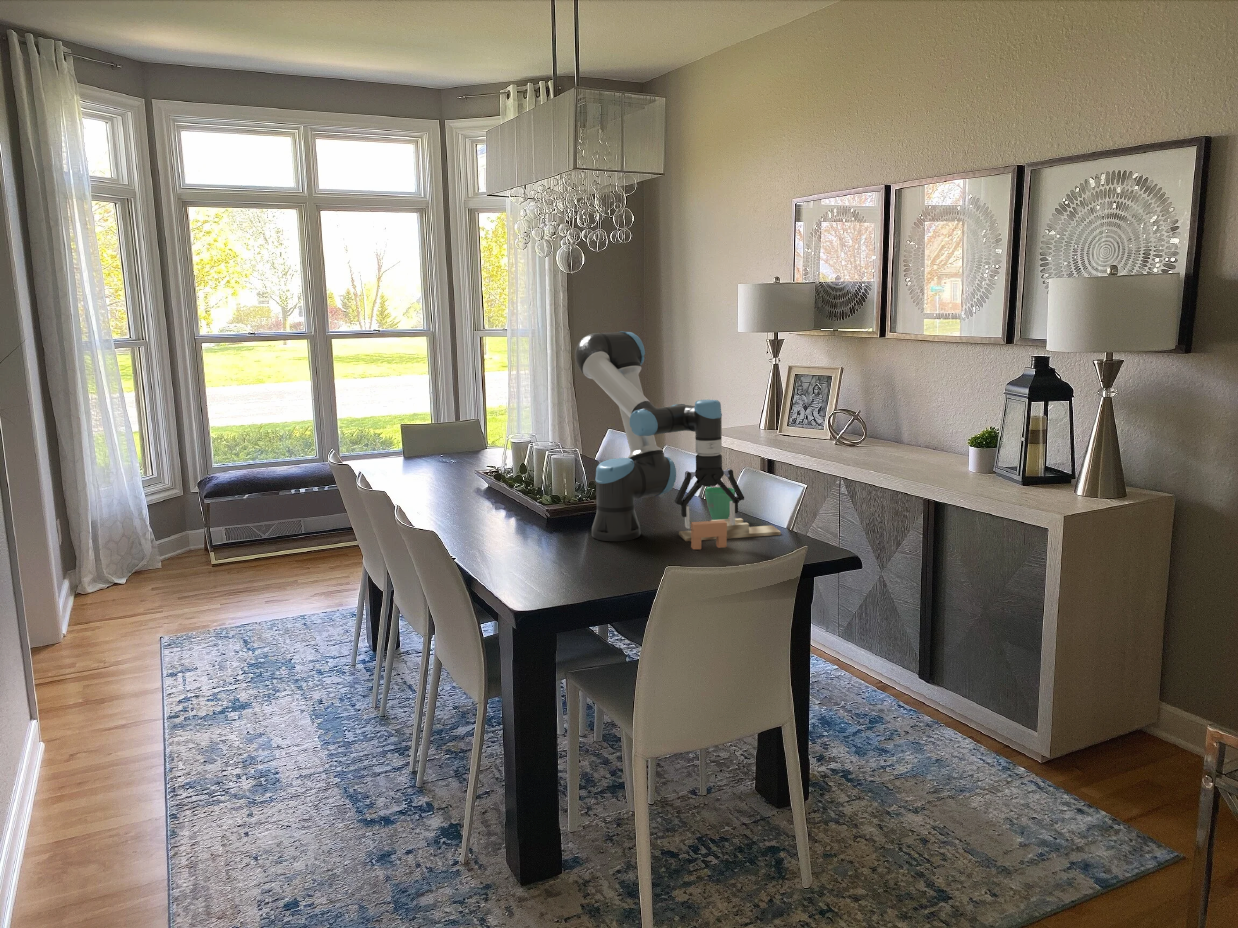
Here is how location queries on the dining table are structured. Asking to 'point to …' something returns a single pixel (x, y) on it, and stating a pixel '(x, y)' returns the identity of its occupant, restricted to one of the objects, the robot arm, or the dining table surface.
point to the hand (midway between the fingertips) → (709, 526)
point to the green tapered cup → (718, 502)
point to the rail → (738, 530)
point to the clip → (709, 533)
